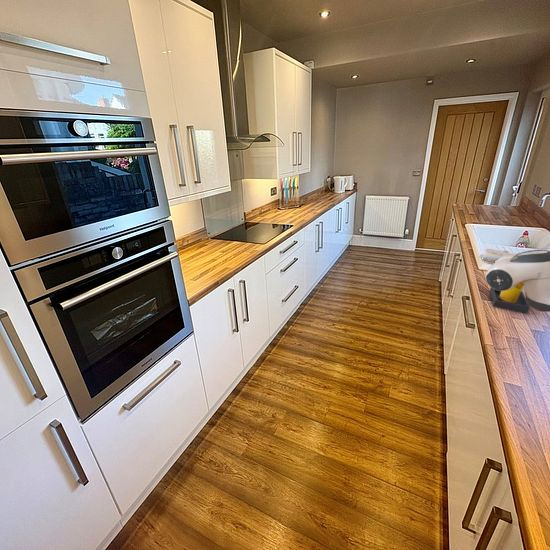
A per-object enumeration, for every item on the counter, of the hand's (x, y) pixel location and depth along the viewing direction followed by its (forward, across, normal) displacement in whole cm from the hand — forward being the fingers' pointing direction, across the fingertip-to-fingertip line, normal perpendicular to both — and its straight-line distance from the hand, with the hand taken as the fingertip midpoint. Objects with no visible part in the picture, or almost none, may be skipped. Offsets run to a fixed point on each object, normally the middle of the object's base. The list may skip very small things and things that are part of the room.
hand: (521, 256), depth 107 cm
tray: (+12, 0, -24) cm, 27 cm away
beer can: (+12, 0, -24) cm, 27 cm away
